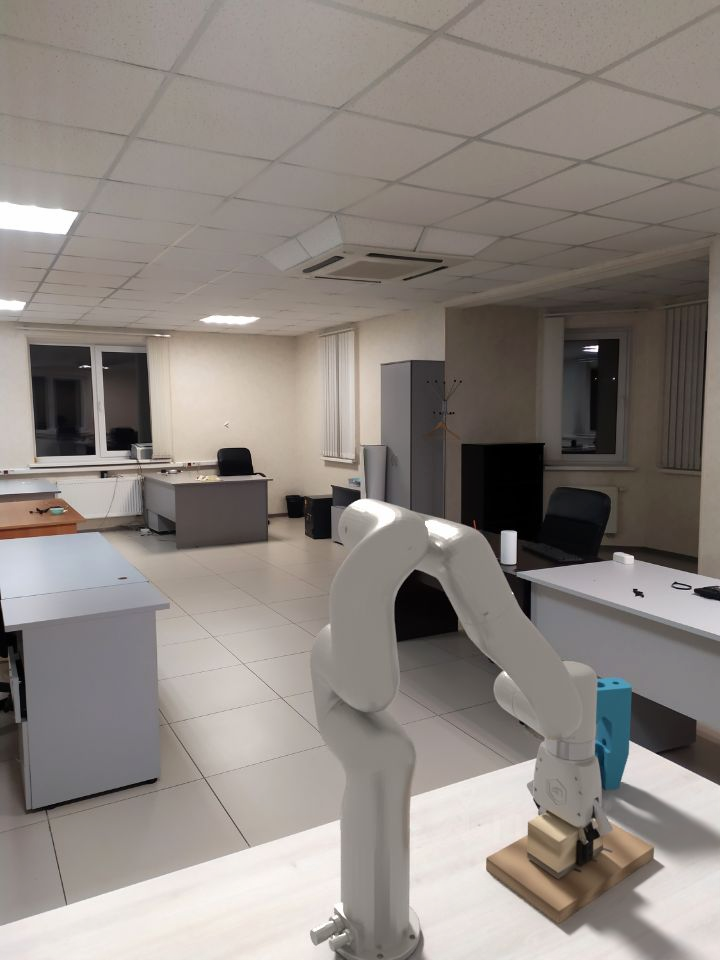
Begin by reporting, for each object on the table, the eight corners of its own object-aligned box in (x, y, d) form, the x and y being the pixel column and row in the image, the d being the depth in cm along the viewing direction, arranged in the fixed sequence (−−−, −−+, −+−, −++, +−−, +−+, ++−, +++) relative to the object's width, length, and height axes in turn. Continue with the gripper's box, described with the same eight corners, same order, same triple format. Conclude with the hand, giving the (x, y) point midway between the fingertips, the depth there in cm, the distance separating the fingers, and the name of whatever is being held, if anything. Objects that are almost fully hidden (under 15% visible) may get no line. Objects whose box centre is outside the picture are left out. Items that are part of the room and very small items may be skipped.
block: (614, 773, 135) (619, 677, 133) (629, 787, 130) (634, 687, 128) (559, 779, 133) (562, 681, 131) (572, 794, 128) (575, 692, 126)
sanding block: (558, 878, 102) (559, 841, 101) (527, 857, 107) (527, 821, 106) (602, 850, 108) (604, 815, 108) (571, 831, 113) (572, 797, 112)
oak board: (558, 924, 96) (559, 910, 96) (486, 869, 107) (486, 857, 107) (653, 858, 110) (654, 846, 110) (580, 816, 121) (580, 805, 121)
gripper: (510, 728, 110) (508, 831, 112) (603, 775, 96) (598, 892, 98) (541, 715, 115) (538, 815, 117) (633, 758, 101) (628, 871, 103)
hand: (566, 849), depth 108 cm, fingers closed on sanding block, 6 cm apart
